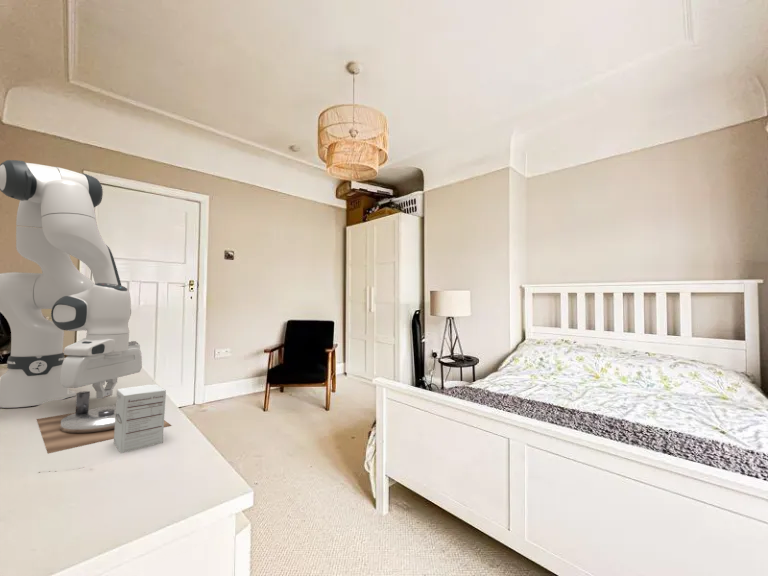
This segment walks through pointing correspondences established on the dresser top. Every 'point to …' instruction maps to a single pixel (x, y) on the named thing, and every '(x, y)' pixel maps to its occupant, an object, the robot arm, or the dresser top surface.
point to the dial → (88, 417)
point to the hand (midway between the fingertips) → (104, 397)
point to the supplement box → (139, 417)
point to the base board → (69, 435)
